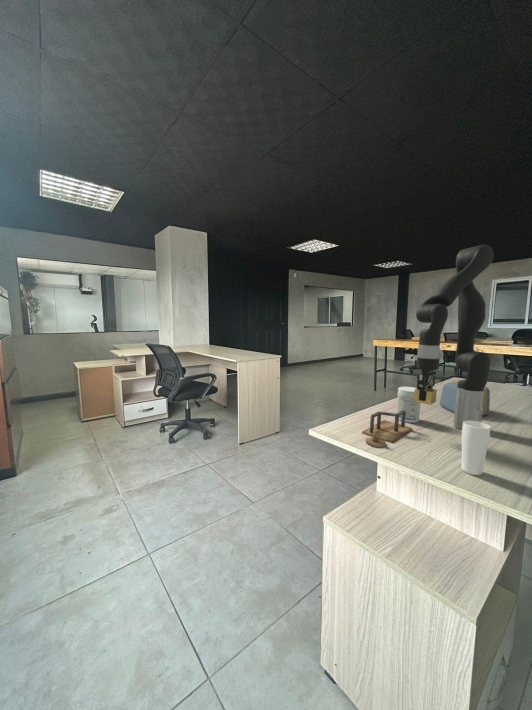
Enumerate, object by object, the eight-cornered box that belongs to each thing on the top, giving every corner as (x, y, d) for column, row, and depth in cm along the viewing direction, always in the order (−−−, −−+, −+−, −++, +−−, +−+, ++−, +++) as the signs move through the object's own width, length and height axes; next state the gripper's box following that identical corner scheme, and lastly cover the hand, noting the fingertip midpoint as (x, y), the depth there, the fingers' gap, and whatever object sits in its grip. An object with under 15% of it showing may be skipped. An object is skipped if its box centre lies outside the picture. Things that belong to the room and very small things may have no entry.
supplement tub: (401, 414, 138) (404, 385, 136) (422, 420, 131) (425, 389, 129) (392, 419, 132) (394, 388, 130) (413, 425, 125) (415, 392, 123)
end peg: (388, 443, 105) (389, 431, 105) (380, 449, 100) (381, 436, 100) (370, 437, 110) (371, 425, 110) (361, 442, 105) (362, 430, 105)
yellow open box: (435, 401, 111) (436, 389, 111) (430, 405, 107) (431, 392, 106) (419, 398, 116) (420, 386, 115) (413, 401, 111) (414, 389, 111)
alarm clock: (490, 416, 137) (494, 384, 135) (457, 416, 138) (460, 384, 136) (467, 406, 154) (470, 377, 152) (437, 405, 154) (440, 377, 152)
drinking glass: (480, 468, 88) (485, 422, 87) (489, 479, 82) (495, 430, 80) (455, 464, 91) (459, 419, 89) (461, 475, 84) (467, 426, 82)
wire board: (411, 429, 119) (413, 411, 118) (391, 442, 106) (393, 422, 105) (383, 421, 128) (385, 404, 127) (361, 433, 114) (363, 414, 113)
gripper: (433, 359, 101) (429, 404, 104) (444, 355, 111) (441, 397, 113) (411, 357, 107) (408, 400, 109) (424, 354, 117) (421, 393, 119)
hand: (425, 398), depth 111 cm, fingers closed on yellow open box, 6 cm apart
